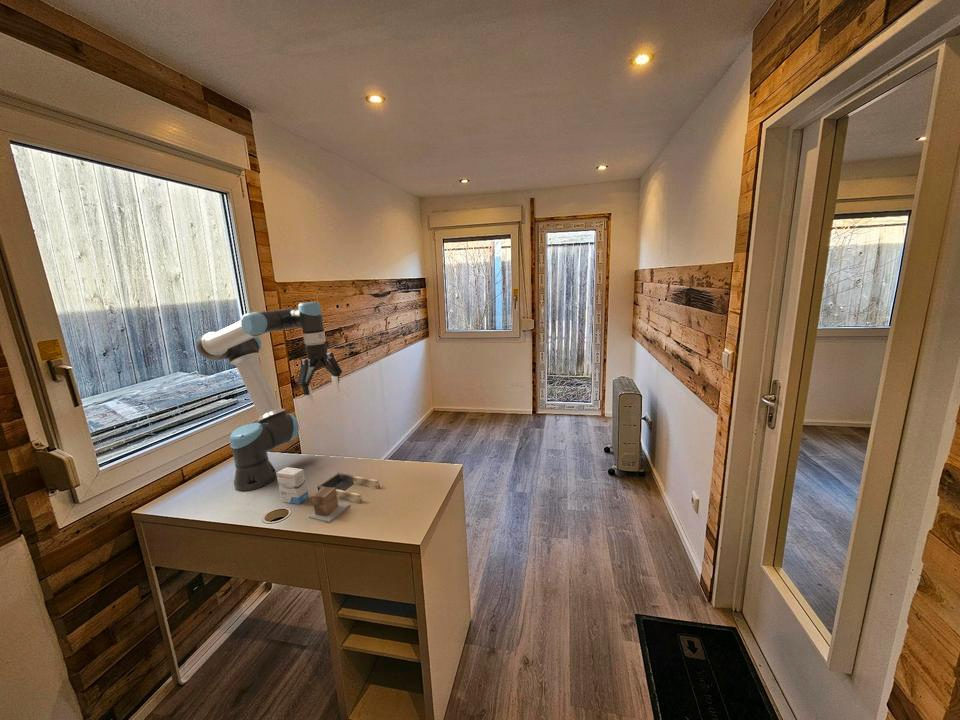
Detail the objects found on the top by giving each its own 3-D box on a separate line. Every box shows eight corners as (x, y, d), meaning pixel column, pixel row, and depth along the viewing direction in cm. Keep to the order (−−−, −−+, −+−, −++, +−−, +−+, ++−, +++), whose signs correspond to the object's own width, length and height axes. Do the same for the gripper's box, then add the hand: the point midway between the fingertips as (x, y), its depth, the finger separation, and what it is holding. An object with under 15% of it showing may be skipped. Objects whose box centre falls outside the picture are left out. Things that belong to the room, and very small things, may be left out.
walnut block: (315, 514, 129) (311, 496, 127) (326, 504, 134) (323, 486, 133) (327, 515, 127) (324, 497, 126) (338, 505, 133) (335, 487, 132)
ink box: (309, 497, 141) (304, 468, 138) (299, 504, 136) (293, 475, 134) (291, 494, 144) (286, 466, 141) (280, 501, 139) (275, 472, 137)
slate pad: (308, 517, 128) (308, 516, 128) (330, 501, 137) (330, 500, 137) (328, 523, 124) (328, 521, 124) (350, 506, 133) (349, 504, 133)
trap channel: (318, 494, 142) (317, 486, 142) (339, 479, 152) (338, 472, 152) (360, 503, 135) (359, 495, 134) (379, 487, 144) (378, 480, 144)
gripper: (295, 349, 129) (305, 408, 134) (346, 338, 152) (353, 388, 156) (279, 349, 132) (290, 406, 137) (332, 338, 155) (339, 387, 159)
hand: (323, 397), depth 146 cm, fingers open, 13 cm apart
